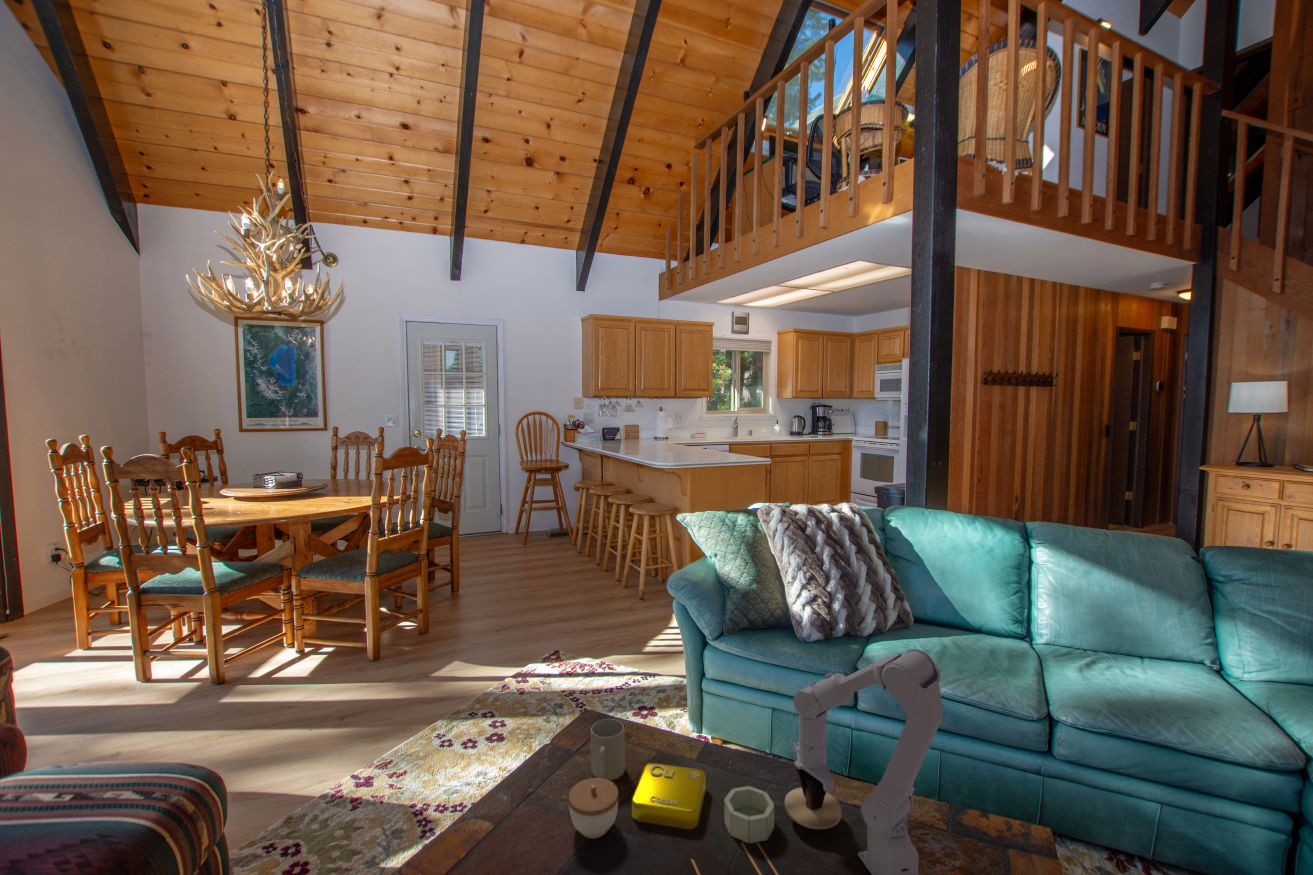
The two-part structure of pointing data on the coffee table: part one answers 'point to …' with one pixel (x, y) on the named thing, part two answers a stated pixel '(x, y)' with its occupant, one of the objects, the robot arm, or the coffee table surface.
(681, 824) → the element tile
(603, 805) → the lidded jar
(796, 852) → the coffee table surface
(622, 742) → the mug
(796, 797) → the lid
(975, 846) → the coffee table surface
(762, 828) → the bowl
